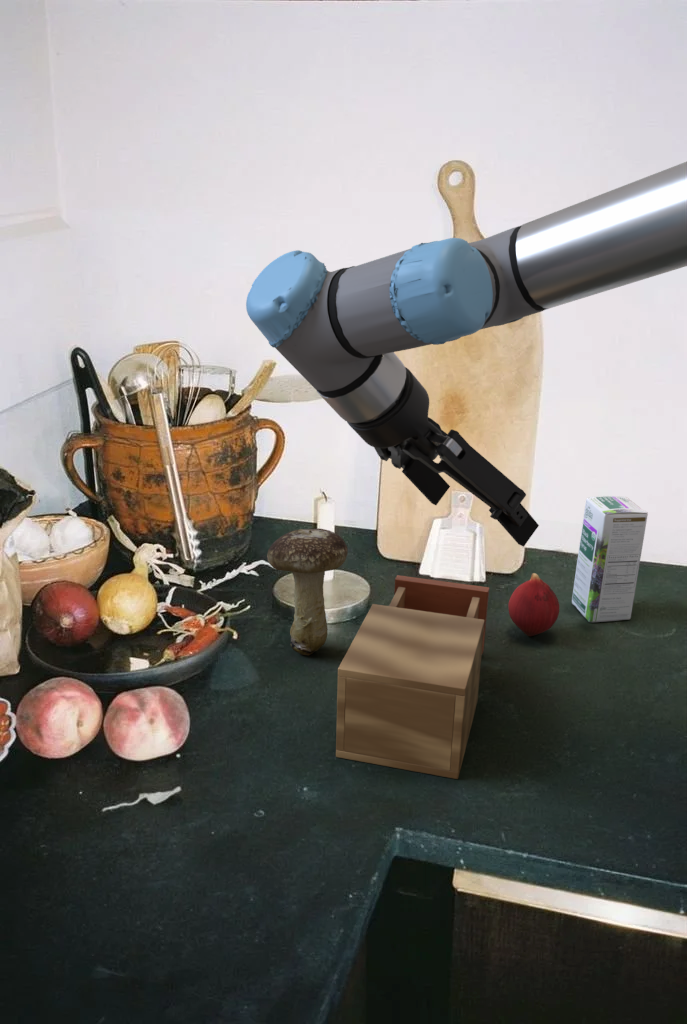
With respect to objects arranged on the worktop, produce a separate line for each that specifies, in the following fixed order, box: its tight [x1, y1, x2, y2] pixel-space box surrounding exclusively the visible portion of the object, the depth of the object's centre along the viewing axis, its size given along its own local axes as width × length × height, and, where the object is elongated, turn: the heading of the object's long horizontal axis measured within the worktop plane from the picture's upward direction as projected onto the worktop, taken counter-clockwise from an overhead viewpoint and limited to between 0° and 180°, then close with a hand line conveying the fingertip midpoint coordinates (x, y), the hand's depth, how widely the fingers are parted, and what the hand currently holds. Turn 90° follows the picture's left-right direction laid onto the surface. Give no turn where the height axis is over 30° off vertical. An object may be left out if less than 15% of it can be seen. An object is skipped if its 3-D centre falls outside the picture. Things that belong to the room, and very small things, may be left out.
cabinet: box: [335, 603, 485, 780], centre depth 91 cm, size 14×12×10 cm
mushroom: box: [266, 528, 349, 656], centre depth 103 cm, size 9×9×15 cm
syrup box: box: [571, 495, 649, 623], centre depth 115 cm, size 6×6×14 cm
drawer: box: [388, 574, 490, 655], centre depth 102 cm, size 17×10×8 cm, turn 165°
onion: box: [507, 572, 560, 637], centre depth 110 cm, size 6×6×8 cm
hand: (482, 514), depth 100 cm, fingers open, 13 cm apart
